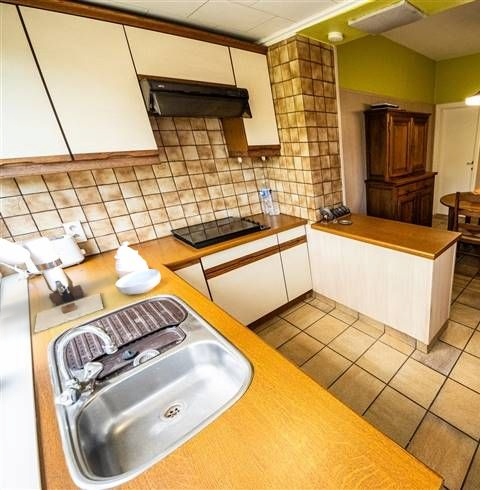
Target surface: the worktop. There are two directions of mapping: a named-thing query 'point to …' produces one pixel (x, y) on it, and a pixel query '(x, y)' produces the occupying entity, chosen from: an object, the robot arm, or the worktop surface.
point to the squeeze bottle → (56, 288)
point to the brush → (75, 291)
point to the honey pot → (128, 261)
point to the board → (57, 316)
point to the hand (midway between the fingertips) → (69, 298)
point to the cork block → (68, 308)
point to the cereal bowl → (139, 281)
